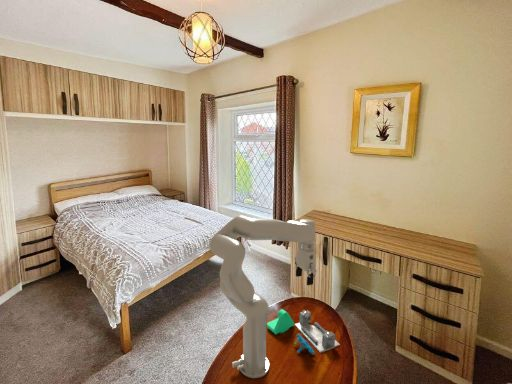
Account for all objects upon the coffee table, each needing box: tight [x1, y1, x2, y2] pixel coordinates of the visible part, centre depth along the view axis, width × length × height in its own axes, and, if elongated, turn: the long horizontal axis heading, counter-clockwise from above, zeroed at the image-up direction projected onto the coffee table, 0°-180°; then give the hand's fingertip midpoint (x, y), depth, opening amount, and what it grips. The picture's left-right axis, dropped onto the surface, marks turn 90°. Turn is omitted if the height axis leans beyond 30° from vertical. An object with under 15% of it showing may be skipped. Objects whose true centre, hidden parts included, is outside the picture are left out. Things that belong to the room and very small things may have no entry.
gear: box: [293, 333, 315, 355], centre depth 117 cm, size 11×6×10 cm
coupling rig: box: [294, 309, 340, 354], centre depth 128 cm, size 11×21×7 cm, turn 24°
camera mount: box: [266, 308, 295, 335], centre depth 134 cm, size 12×8×10 cm, turn 126°
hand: (304, 280), depth 127 cm, fingers open, 9 cm apart
